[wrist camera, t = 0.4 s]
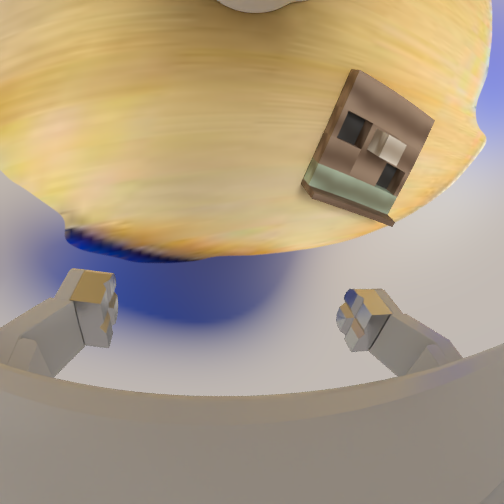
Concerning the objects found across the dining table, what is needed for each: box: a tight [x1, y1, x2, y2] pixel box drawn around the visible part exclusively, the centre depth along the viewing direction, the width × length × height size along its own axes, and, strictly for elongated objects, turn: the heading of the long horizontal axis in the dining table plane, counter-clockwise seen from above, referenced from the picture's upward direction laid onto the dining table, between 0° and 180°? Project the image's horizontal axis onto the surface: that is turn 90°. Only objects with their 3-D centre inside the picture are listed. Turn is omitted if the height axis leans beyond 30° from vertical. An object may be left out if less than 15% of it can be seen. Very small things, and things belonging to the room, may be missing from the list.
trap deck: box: [301, 69, 434, 227], centre depth 43 cm, size 22×18×6 cm
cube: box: [367, 129, 407, 166], centre depth 40 cm, size 4×4×4 cm
